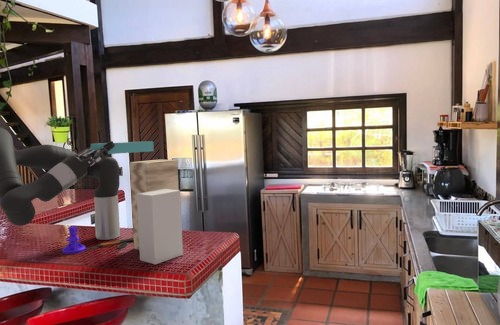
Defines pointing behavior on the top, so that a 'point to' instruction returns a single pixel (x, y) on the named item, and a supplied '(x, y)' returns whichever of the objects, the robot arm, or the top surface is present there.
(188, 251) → the top surface
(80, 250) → the figurine
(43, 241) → the top surface
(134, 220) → the stand
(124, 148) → the teal long bar
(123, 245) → the toy rifle
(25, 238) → the top surface
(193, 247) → the top surface
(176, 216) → the white tall block
